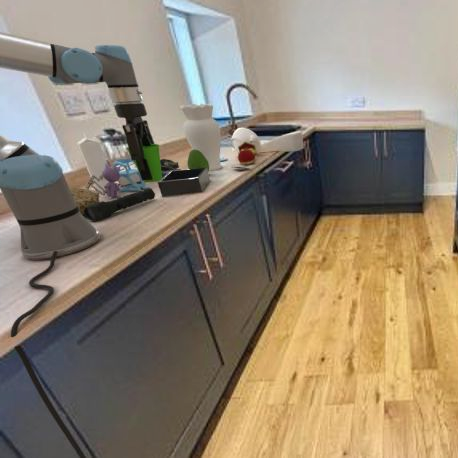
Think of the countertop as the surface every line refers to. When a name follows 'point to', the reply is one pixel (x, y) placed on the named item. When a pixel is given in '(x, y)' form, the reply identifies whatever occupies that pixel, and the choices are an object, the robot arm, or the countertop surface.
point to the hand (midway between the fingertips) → (152, 176)
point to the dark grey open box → (184, 182)
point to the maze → (96, 184)
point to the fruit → (197, 160)
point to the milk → (93, 160)
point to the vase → (203, 132)
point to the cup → (152, 161)
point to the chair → (127, 175)
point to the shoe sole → (283, 143)
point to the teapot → (244, 139)
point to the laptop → (240, 167)
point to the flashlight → (117, 204)
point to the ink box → (133, 177)
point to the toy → (223, 159)
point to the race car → (168, 164)
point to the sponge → (84, 198)
